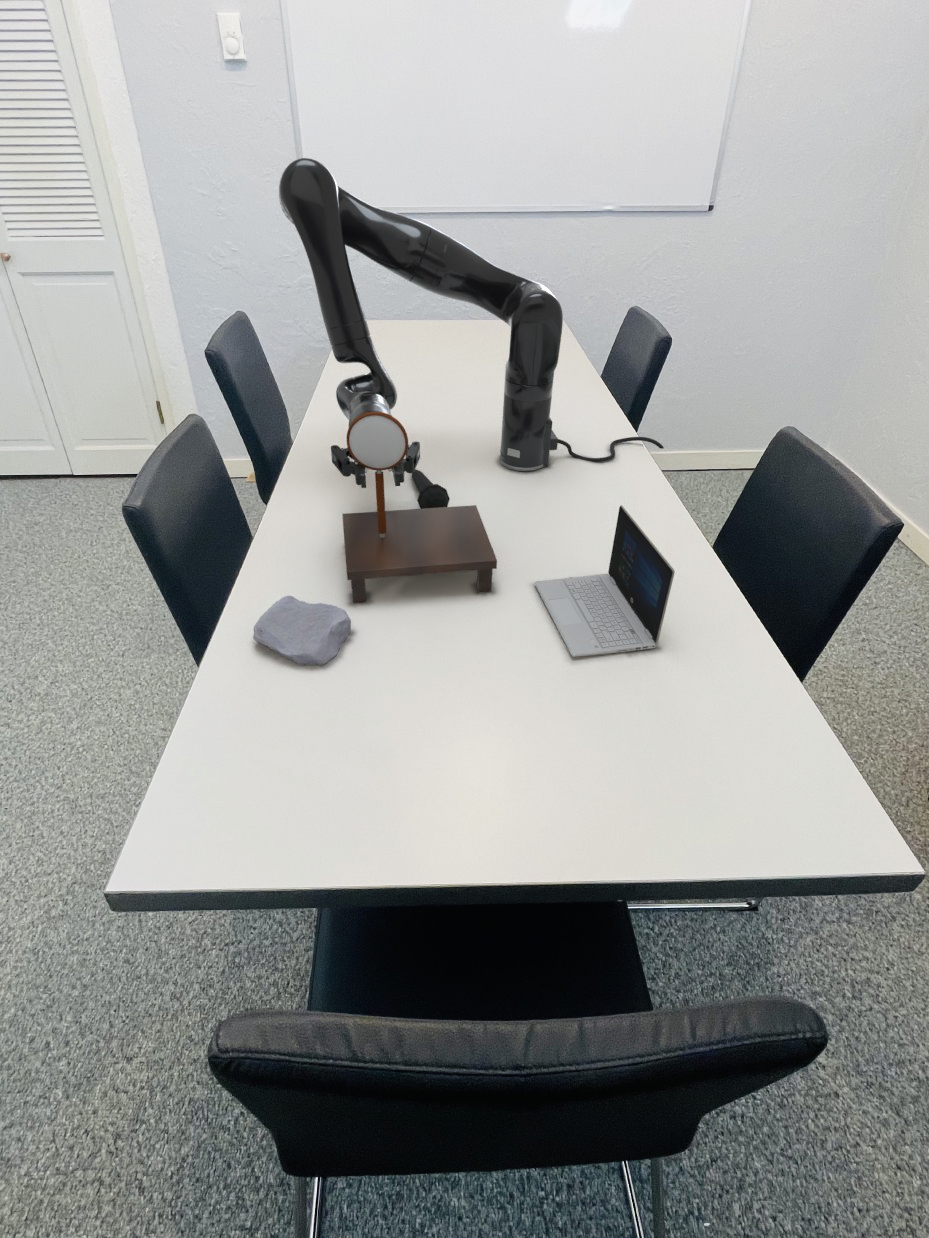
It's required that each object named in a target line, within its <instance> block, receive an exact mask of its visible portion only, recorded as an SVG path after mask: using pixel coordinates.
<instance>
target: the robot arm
mask: <svg viewBox="0 0 929 1238" xmlns="http://www.w3.org/2000/svg"><path fill="white" fill-rule="evenodd" d="M278 201H279V205H280V208H281V210H282V212H283V214H284V216H285V217H286V218H287V220H288V221H289V222H290V223H292V224H293V226H294V227H295V229H296V231H297V233H298V236H299V238H300V240H301V244H302V245H303V248H304V251H305V253H306V257H307V259H308V262H309V265H310V269H311V272H312V276H313V280H314V285H315V289H316V295H317V298H318V303H319V308H320V312H321V316H322V321H323V324H324V327H325V330H326V333H327V337H328V340H329V343H330V346H331V350H332V353H333V356H334V358H335V360H336V361H337V362H338V363H340V364H361V365H364V366H366V367H367V368H368V370H369V372H366V373H362V374H358V375H356V376H352V377H351V376H350V377H347V378H346V379H343V380H342V381H340V382H339V384H338V385H337V387H336V392H335V397H336V401H337V404H338V405H337V406H338V407H339V409H340V410H341V413H342V414H343V415H344V416H345V418H346V419H347V420H348V428H349V427H350V425H351V423H352V422H353V421H354V420H355V419H356V418H357V417H359V416H360V415H362V414H364V413H368V412H383V413H386V414H389V415H391V416H393V415H392V412H391V410H393V409H394V407H395V406H396V404H397V400H398V392H397V388H396V385H395V383H394V382H393V381H394V380H393V379H392V378H391V376H390V375H389V373H388V371H387V369H386V368H385V367H384V365H383V363H382V361H381V359H380V356H379V355H378V353H377V350H376V348H375V345H374V342H373V339H372V336H371V332H370V328H369V324H368V321H367V318H366V315H365V312H364V308H363V304H362V302H361V298H360V295H359V291H358V288H357V285H356V282H355V279H354V275H353V272H352V269H351V265H350V262H349V257H348V253H347V248H346V247H348V248H351V249H352V250H355V251H356V252H359V253H360V254H362V255H363V256H365V257H367V258H368V259H370V260H371V261H373V262H374V263H376V264H378V265H379V266H381V267H382V268H384V269H386V270H388V271H390V272H391V273H393V274H395V275H397V276H398V277H399V278H402V279H403V280H405V281H407V282H410V283H411V284H413V285H415V286H417V287H420V288H421V289H423V290H426V291H428V292H429V293H432V294H435V295H438V296H439V297H440V296H441V297H443V298H446V299H451V300H456V301H460V302H464V303H468V304H471V305H473V306H474V305H475V306H477V307H479V308H481V309H482V310H485V311H487V312H488V313H490V314H492V315H493V316H495V317H496V318H498V319H500V320H501V321H503V322H504V323H505V324H507V325H508V326H509V327H510V339H509V351H508V352H509V353H508V359H507V361H506V363H505V367H504V368H505V370H504V386H503V387H504V388H503V402H502V403H503V404H502V420H501V421H502V423H501V438H500V450H499V451H500V455H499V462H500V464H501V465H502V466H503V467H505V468H506V469H510V470H512V471H518V472H531V471H532V472H533V471H536V470H537V471H538V470H540V469H542V468H547V467H549V461H550V452H551V451H557V450H558V444H559V445H563V447H566V449H567V452H568V455H569V456H571V457H573V458H575V459H578V460H582V461H586V462H587V461H588V462H593V463H601V462H607V461H611V460H613V459H614V458H615V455H616V450H615V446H616V445H618V444H621V443H628V442H635V441H636V442H637V441H640V442H648V443H651V444H653V445H655V446H656V447H657V448H658V449H665V447H664V446H663V444H662V443H660V442H659V441H658V440H656V439H653V438H650V437H645V436H630V437H623V438H619V439H615V440H613V441H611V443H610V445H609V448H610V455H608V456H603V457H588V456H582V455H580V454H577V453H575V452H574V451H573V450H572V446H571V444H570V443H568V442H567V441H565V440H562V439H560V438H558V436H557V435H556V433H555V432H554V431H553V420H552V419H551V409H552V408H551V407H552V397H553V396H552V395H553V388H554V387H553V386H554V377H555V371H556V369H557V366H558V363H559V357H560V350H561V343H562V333H563V323H564V322H563V321H564V313H563V308H562V305H561V303H560V301H559V300H558V298H557V297H556V296H555V295H554V293H553V292H552V291H551V290H550V289H549V288H548V287H547V286H545V285H543V284H542V283H539V282H537V281H534V280H531V279H529V278H525V277H523V276H520V275H518V274H515V273H512V272H511V271H508V270H505V269H503V268H501V267H499V266H497V265H495V264H493V263H492V262H490V261H488V260H487V259H486V258H484V257H482V256H481V255H480V254H478V253H477V252H476V251H474V250H472V249H470V248H469V247H468V246H466V245H464V244H463V243H461V242H459V241H458V240H456V239H454V238H453V237H451V236H450V235H447V234H446V233H445V232H442V231H440V230H438V229H436V228H434V227H433V226H431V225H430V224H427V223H425V222H422V221H420V220H417V219H415V218H412V217H409V216H406V215H403V214H401V213H396V212H394V211H390V210H386V209H383V208H379V207H377V206H374V205H372V204H369V203H367V202H366V201H363V200H362V199H360V198H358V197H356V196H355V195H353V194H351V193H350V192H348V191H346V190H345V189H344V188H343V187H340V186H339V185H337V182H336V179H335V178H334V175H333V174H332V173H331V171H330V170H329V169H328V168H327V166H325V165H324V164H323V163H321V162H320V161H318V160H316V159H313V158H308V157H301V158H297V159H295V160H293V161H292V162H290V163H289V164H288V165H287V166H286V167H285V169H284V171H283V172H282V174H281V177H280V179H279V184H278ZM330 455H331V463H332V464H333V466H334V467H335V468H336V469H337V470H338V471H339V473H340V474H341V475H342V476H343V477H346V478H347V477H351V476H352V475H354V477H355V485H357V486H360V488H361V489H366V488H367V479H366V477H367V476H366V474H367V473H368V472H369V470H370V469H368V468H366V467H364V466H362V465H360V464H359V463H358V462H357V461H356V460H355V459H354V458H353V457H352V455H351V454H350V452H349V450H348V446H347V447H345V448H343V447H340V446H339V445H337V444H333V445H331V446H330ZM350 459H351V460H350ZM420 459H421V442H419V441H412V442H411V444H408V450H407V453H406V455H405V457H404V459H403V460H402V461H401V462H400V463H399V464H398V465H397V466H395V467H393V468H391V469H388V470H387V471H388V472H390V473H391V472H392V477H393V481H394V486H395V487H401V483H405V473H406V474H412V473H413V472H414V471H415V469H416V468H417V466H418V464H419V462H420ZM352 460H353V461H352Z"/></svg>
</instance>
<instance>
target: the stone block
mask: <svg viewBox="0 0 929 1238" xmlns="http://www.w3.org/2000/svg"><path fill="white" fill-rule="evenodd" d="M351 628H352V621H351V618H350V616H349V614H348V613H347V611H346V610H345V609H343V608H342V607H339V606H338V605H332V604H327V603H322V602H317V603H309V602H306V601H302V600H300V599H297V598H296V597H294V596H292V595H285V596H283V597H281V598H280V599H279V600H277V601H275V602H274V603H273V604H271V606H270V607H269V608H268V609H266V611H264V612H263V614H261V616H260V617H259V619H258V620H257V621H256V622H255V624H254V626H253V636H252V638H253V640H254V641H256V642H257V643H259V644H261V645H263V646H265V647H267V648H269V649H271V650H272V651H274V652H276V653H278V654H279V655H280V656H282V657H284V658H286V659H288V660H290V661H293V662H294V663H296V664H297V665H299V666H320V665H325V664H326V663H328V662H329V661H330V660H331V659H334V658H335V657H337V655H338V652H339V651H340V649H341V647H342V645H343V644H344V643H345V641H346V639H347V638H348V636H349V634H350V632H351V630H352V629H351Z"/></svg>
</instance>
